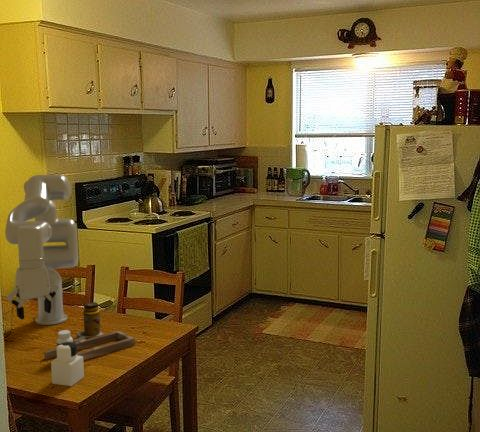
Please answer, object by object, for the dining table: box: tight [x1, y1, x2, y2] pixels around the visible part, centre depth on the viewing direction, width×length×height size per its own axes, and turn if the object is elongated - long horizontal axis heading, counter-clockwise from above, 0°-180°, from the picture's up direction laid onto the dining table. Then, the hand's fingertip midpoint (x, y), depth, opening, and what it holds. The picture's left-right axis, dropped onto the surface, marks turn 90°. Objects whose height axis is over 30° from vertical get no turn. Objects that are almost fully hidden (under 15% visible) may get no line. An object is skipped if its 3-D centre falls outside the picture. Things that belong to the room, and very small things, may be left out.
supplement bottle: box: [55, 329, 74, 347], centre depth 189 cm, size 5×5×10 cm
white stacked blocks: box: [50, 342, 85, 387], centre depth 172 cm, size 7×7×12 cm
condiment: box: [76, 301, 104, 339], centre depth 212 cm, size 7×8×12 cm
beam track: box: [43, 330, 136, 362], centre depth 197 cm, size 14×30×3 cm, turn 134°
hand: (34, 315), depth 180 cm, fingers open, 8 cm apart
